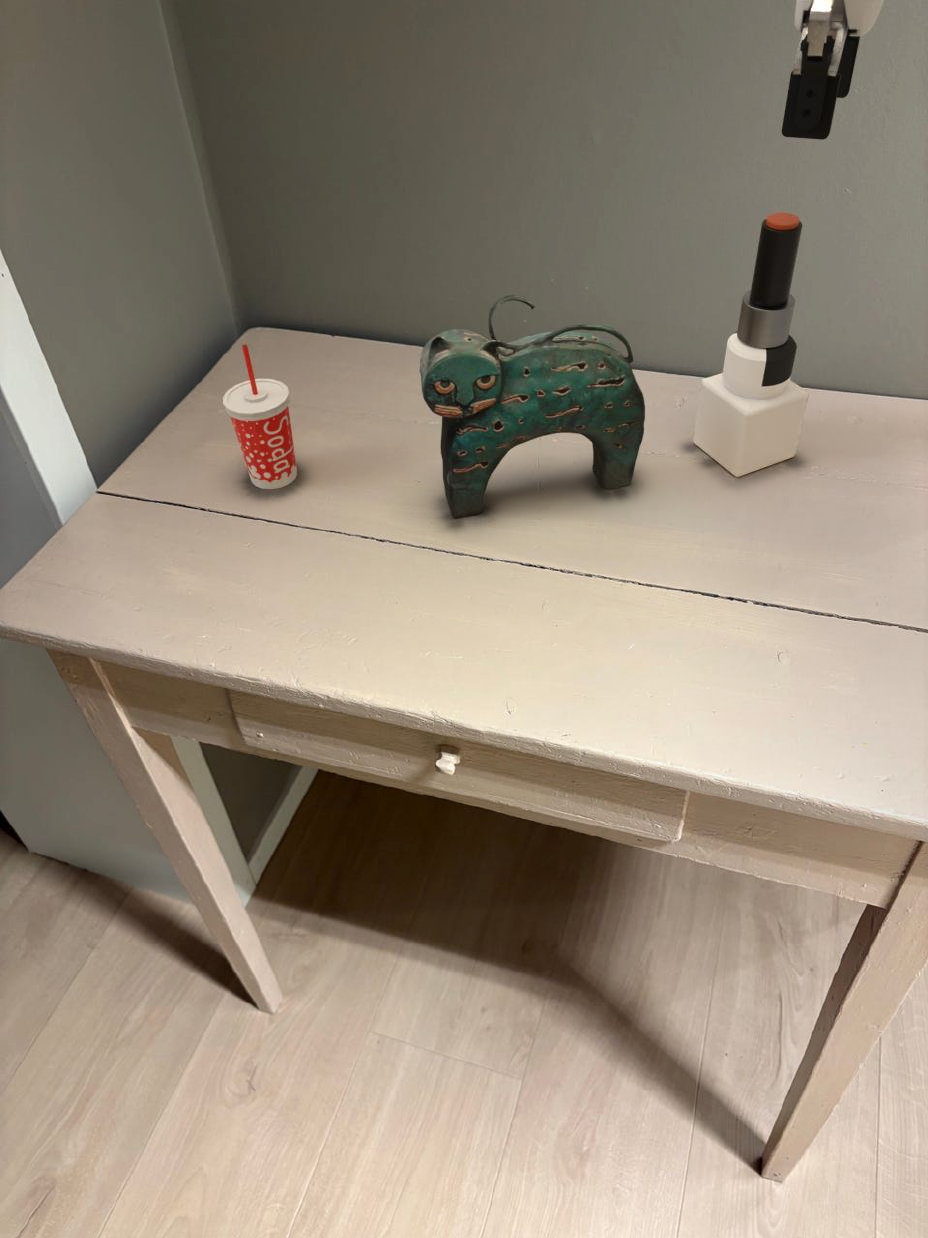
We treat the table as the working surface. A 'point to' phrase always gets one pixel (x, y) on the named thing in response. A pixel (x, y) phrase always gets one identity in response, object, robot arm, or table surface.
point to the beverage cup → (263, 428)
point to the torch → (771, 284)
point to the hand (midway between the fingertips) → (815, 115)
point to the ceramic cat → (529, 402)
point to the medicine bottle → (751, 408)
